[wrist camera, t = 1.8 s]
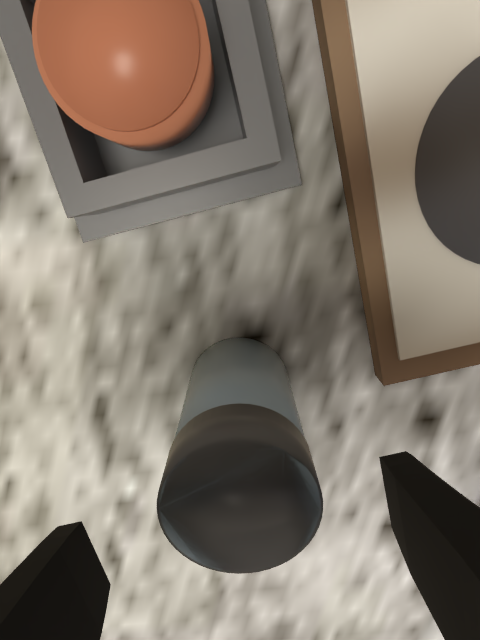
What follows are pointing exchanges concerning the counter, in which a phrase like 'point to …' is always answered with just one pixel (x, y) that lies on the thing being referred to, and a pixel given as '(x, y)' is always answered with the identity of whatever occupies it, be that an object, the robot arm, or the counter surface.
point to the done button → (127, 67)
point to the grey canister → (239, 465)
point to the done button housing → (181, 159)
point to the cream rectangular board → (410, 173)
